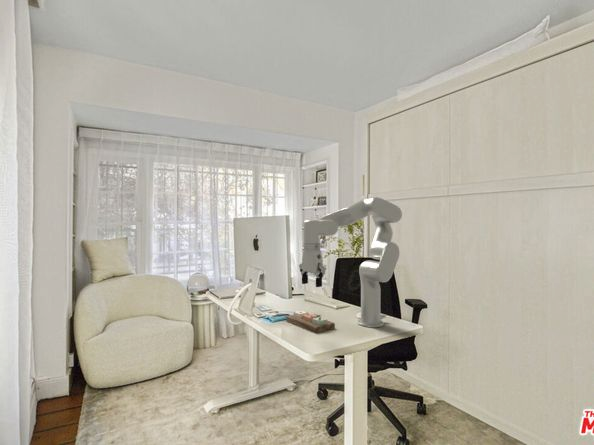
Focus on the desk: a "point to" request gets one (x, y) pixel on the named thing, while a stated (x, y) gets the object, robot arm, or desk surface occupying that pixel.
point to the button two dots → (309, 317)
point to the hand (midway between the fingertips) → (311, 285)
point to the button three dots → (319, 321)
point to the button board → (310, 324)
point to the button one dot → (299, 314)
